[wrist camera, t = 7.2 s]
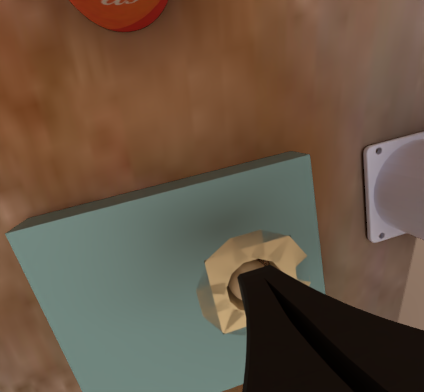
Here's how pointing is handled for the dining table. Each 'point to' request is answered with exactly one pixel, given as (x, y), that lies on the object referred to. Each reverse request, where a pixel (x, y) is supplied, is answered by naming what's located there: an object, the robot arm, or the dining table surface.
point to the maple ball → (243, 268)
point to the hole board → (168, 273)
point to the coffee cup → (121, 12)
